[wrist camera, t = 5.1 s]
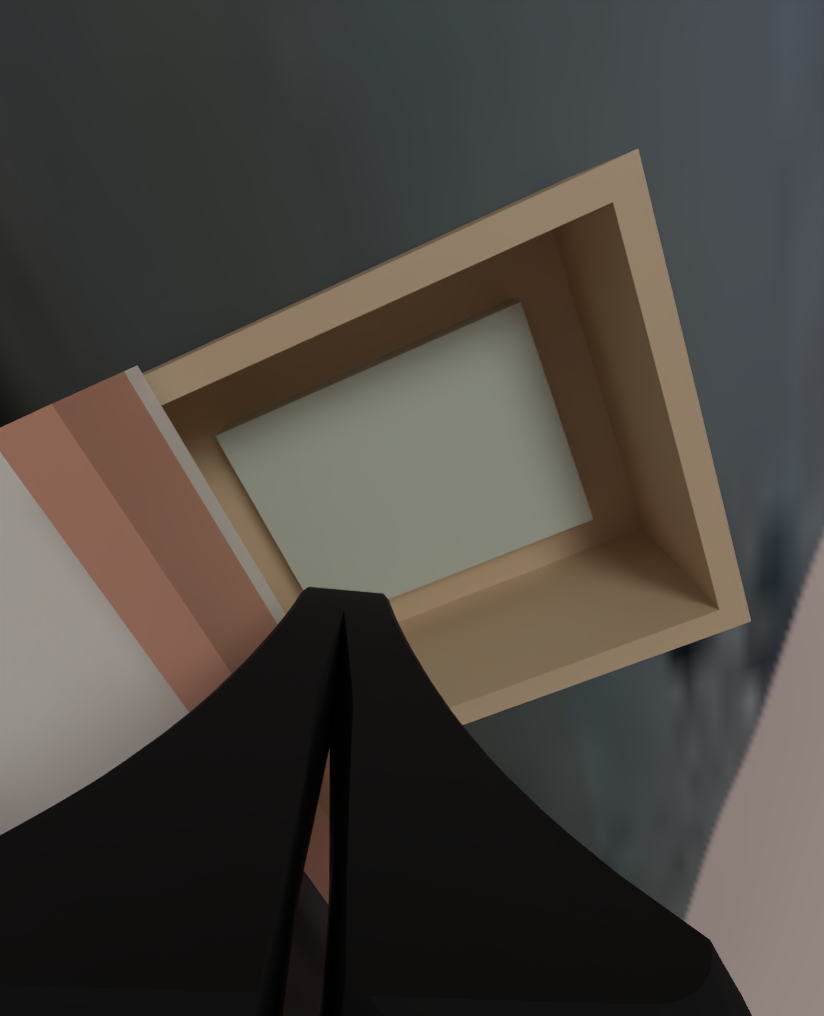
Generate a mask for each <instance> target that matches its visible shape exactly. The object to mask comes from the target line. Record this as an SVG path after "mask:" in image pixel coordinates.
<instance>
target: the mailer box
mask: <svg viewBox="0 0 824 1016" xmlns="http://www.w3.org/2000/svg"><path fill="white" fill-rule="evenodd" d="M142 374H143V376H144V378H145V379H146V381H147V383H148V384H149V386H150V388H151V389H152V391H153V393H154V394H155V396H156V398H157V399H158V401H159V403H160V404H161V406H162V408H163V409H164V411H165V413H166V414H167V416H168V418H169V420H170V421H171V423H172V425H173V426H174V428H175V430H176V431H177V433H178V435H179V436H180V438H181V440H182V441H183V443H184V445H185V446H186V448H187V450H188V451H189V453H190V455H191V456H192V458H193V460H194V461H195V463H196V465H197V466H198V468H199V470H200V472H201V473H202V475H203V477H204V478H205V480H206V482H207V483H208V485H209V487H210V488H211V490H212V492H213V493H214V495H215V497H216V498H217V500H218V502H219V503H220V505H221V507H222V508H223V510H224V512H225V513H226V515H227V517H228V518H229V520H230V522H231V524H232V525H233V527H234V529H235V530H236V532H237V534H238V535H239V537H240V539H241V540H242V542H243V544H244V545H245V547H246V549H247V550H248V552H249V554H250V555H251V557H252V559H253V560H254V562H255V564H256V565H257V567H258V569H259V570H260V572H261V574H262V575H263V577H264V579H265V581H266V582H267V584H268V586H269V587H270V589H271V591H272V592H273V594H274V596H275V597H276V599H277V601H278V602H279V604H280V606H281V607H282V609H283V611H284V612H285V614H286V613H287V612H288V611H289V609H290V608H291V607H292V605H293V604H294V602H295V601H296V600H297V598H298V596H299V595H300V593H301V592H302V591H303V590H305V589H306V588H307V587H318V588H329V589H340V590H351V591H361V592H372V593H383V594H384V595H385V596H386V597H387V598H388V600H389V601H390V604H391V607H392V609H393V612H394V614H395V617H396V619H397V621H398V623H399V625H400V627H401V629H402V631H403V633H404V635H405V637H406V639H407V641H408V643H409V645H410V647H411V648H412V650H413V652H414V654H415V655H416V657H417V659H418V660H419V662H420V664H421V665H422V667H423V669H424V670H425V672H426V674H427V675H428V677H429V678H430V680H431V682H432V683H433V685H434V686H435V688H436V689H437V691H438V692H439V694H440V695H441V696H442V698H443V699H444V701H445V702H446V703H447V705H448V706H449V708H450V709H451V711H452V712H453V713H454V715H455V716H456V717H457V719H458V720H459V721H460V723H461V724H462V725H464V724H467V723H470V722H472V721H475V720H478V719H481V718H483V717H486V716H489V715H492V714H495V713H497V712H500V711H503V710H506V709H509V708H511V707H514V706H517V705H520V704H522V703H525V702H528V701H531V700H534V699H536V698H539V697H542V696H545V695H547V694H550V693H553V692H556V691H559V690H561V689H564V688H567V687H570V686H573V685H575V684H578V683H581V682H584V681H586V680H589V679H592V678H595V677H598V676H600V675H603V674H606V673H609V672H612V671H614V670H617V669H620V668H623V667H625V666H628V665H631V664H634V663H637V662H639V661H642V660H645V659H648V658H651V657H653V656H656V655H659V654H662V653H664V652H667V651H670V650H673V649H676V648H678V647H681V646H684V645H687V644H689V643H692V642H695V641H698V640H701V639H703V638H706V637H709V636H712V635H715V634H717V633H720V632H723V631H726V630H728V629H731V628H734V627H737V626H740V625H742V624H745V623H748V622H751V619H750V615H749V611H748V606H747V602H746V598H745V594H744V590H743V585H742V581H741V577H740V573H739V569H738V564H737V560H736V556H735V552H734V548H733V544H732V539H731V535H730V531H729V527H728V523H727V518H726V514H725V510H724V506H723V502H722V498H721V493H720V489H719V485H718V481H717V477H716V472H715V468H714V464H713V460H712V456H711V452H710V447H709V443H708V439H707V435H706V431H705V426H704V422H703V418H702V414H701V410H700V405H699V401H698V397H697V393H696V389H695V385H694V380H693V376H692V372H691V368H690V364H689V359H688V355H687V351H686V347H685V343H684V339H683V334H682V330H681V326H680V322H679V318H678V313H677V309H676V305H675V301H674V297H673V292H672V288H671V284H670V280H669V276H668V272H667V267H666V263H665V259H664V255H663V251H662V246H661V242H660V238H659V234H658V230H657V226H656V221H655V217H654V213H653V209H652V205H651V200H650V196H649V192H648V188H647V184H646V179H645V175H644V171H643V167H642V163H641V159H640V154H639V150H638V149H636V150H634V151H631V152H629V153H627V154H624V155H622V156H619V157H617V158H615V159H612V160H610V161H607V162H605V163H603V164H600V165H598V166H595V167H593V168H590V169H588V170H586V171H583V172H581V173H578V174H576V175H574V176H571V177H569V178H566V179H564V180H562V181H559V182H557V183H555V184H553V185H550V186H548V187H546V188H544V189H542V190H539V191H537V192H535V193H533V194H531V195H529V196H526V197H524V198H522V199H520V200H518V201H516V202H513V203H511V204H509V205H507V206H505V207H502V208H500V209H498V210H496V211H494V212H492V213H489V214H487V215H485V216H483V217H481V218H479V219H476V220H474V221H472V222H470V223H468V224H465V225H463V226H461V227H459V228H457V229H455V230H452V231H450V232H448V233H446V234H444V235H442V236H439V237H437V238H435V239H433V240H431V241H429V242H426V243H424V244H422V245H420V246H418V247H415V248H413V249H411V250H409V251H407V252H405V253H402V254H400V255H398V256H396V257H394V258H392V259H389V260H387V261H385V262H383V263H381V264H378V265H376V266H374V267H372V268H370V269H368V270H365V271H363V272H361V273H359V274H357V275H355V276H352V277H350V278H348V279H346V280H344V281H341V282H339V283H337V284H335V285H333V286H331V287H328V288H326V289H324V290H322V291H320V292H318V293H315V294H313V295H311V296H309V297H307V298H304V299H302V300H300V301H298V302H296V303H294V304H291V305H289V306H287V307H285V308H283V309H281V310H278V311H276V312H274V313H272V314H270V315H267V316H265V317H263V318H261V319H259V320H257V321H254V322H252V323H250V324H248V325H246V326H244V327H241V328H239V329H237V330H235V331H233V332H230V333H228V334H226V335H224V336H222V337H220V338H217V339H215V340H213V341H211V342H209V343H207V344H204V345H202V346H200V347H198V348H196V349H193V350H191V351H189V352H187V353H185V354H183V355H180V356H178V357H176V358H174V359H172V360H170V361H167V362H165V363H163V364H161V365H159V366H157V367H154V368H152V369H150V370H148V371H146V372H143V373H142Z"/></svg>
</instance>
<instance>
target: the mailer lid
mask: <svg viewBox="0 0 824 1016" xmlns="http://www.w3.org/2000/svg"><path fill="white" fill-rule="evenodd" d="M285 615H286V614H285V612H284V611H283V609H282V607H281V606H280V604H279V602H278V601H277V599H276V597H275V596H274V594H273V592H272V591H271V589H270V587H269V586H268V584H267V582H266V581H265V579H264V577H263V575H262V574H261V572H260V570H259V569H258V567H257V565H256V564H255V562H254V560H253V559H252V557H251V555H250V554H249V552H248V550H247V549H246V547H245V545H244V544H243V542H242V540H241V539H240V537H239V535H238V534H237V532H236V530H235V529H234V527H233V525H232V524H231V522H230V520H229V518H228V517H227V515H226V513H225V512H224V510H223V508H222V507H221V505H220V503H219V502H218V500H217V498H216V497H215V495H214V493H213V492H212V490H211V488H210V487H209V485H208V483H207V482H206V480H205V478H204V477H203V475H202V473H201V472H200V470H199V468H198V466H197V465H196V463H195V461H194V460H193V458H192V456H191V455H190V453H189V451H188V450H187V448H186V446H185V445H184V443H183V441H182V440H181V438H180V436H179V435H178V433H177V431H176V430H175V428H174V426H173V425H172V423H171V421H170V420H169V418H168V416H167V414H166V413H165V411H164V409H163V408H162V406H161V404H160V403H159V401H158V399H157V398H156V396H155V394H154V393H153V391H152V389H151V388H150V386H149V384H148V383H147V381H146V379H145V378H144V376H143V374H142V373H141V371H140V369H139V368H138V366H135V367H133V368H130V369H128V370H126V371H124V372H122V373H119V374H117V375H115V376H113V377H111V378H108V379H106V380H104V381H102V382H99V383H97V384H95V385H93V386H91V387H88V388H86V389H84V390H82V391H79V392H77V393H75V394H73V395H71V396H68V397H66V398H64V399H62V400H60V401H57V402H55V403H53V404H51V405H48V406H46V407H44V408H42V409H40V410H38V411H35V412H33V413H31V414H29V415H27V416H25V417H23V418H20V419H18V420H16V421H14V422H12V423H10V424H7V425H5V426H3V427H1V428H0V835H1V834H3V833H5V832H7V831H9V830H11V829H12V828H14V827H16V826H18V825H20V824H21V823H23V822H25V821H27V820H29V819H30V818H32V817H34V816H36V815H38V814H39V813H41V812H43V811H45V810H46V809H48V808H50V807H52V806H54V805H55V804H57V803H59V802H60V801H62V800H64V799H65V798H67V797H69V796H70V795H72V794H74V793H75V792H77V791H79V790H80V789H82V788H84V787H86V786H87V785H89V784H90V783H92V782H94V781H95V780H97V779H98V778H100V777H102V776H103V775H105V774H106V773H108V772H109V771H111V770H112V769H113V768H115V767H116V766H118V765H119V764H121V763H122V762H124V761H125V760H127V759H128V758H129V757H131V756H132V755H134V754H135V753H136V752H138V751H139V750H141V749H142V748H143V747H145V746H146V745H148V744H149V743H150V742H152V741H153V740H154V739H156V738H157V737H159V736H160V735H161V734H163V733H164V732H165V731H167V730H168V729H169V728H170V727H172V726H173V725H174V724H175V723H177V722H178V721H179V720H180V719H182V718H183V717H184V716H185V715H187V714H188V713H189V712H190V711H192V710H193V709H194V708H195V707H196V706H197V705H199V704H200V703H201V702H202V701H203V700H204V699H205V698H207V697H208V696H209V695H210V694H211V693H212V692H213V691H214V690H216V689H217V688H218V687H219V686H220V685H221V684H222V683H223V682H224V681H225V680H226V679H227V678H228V677H229V676H230V675H231V674H232V673H233V672H234V671H235V670H236V669H237V668H238V667H239V666H240V665H241V664H242V663H243V662H244V661H245V660H246V659H247V658H248V657H249V656H250V655H251V654H252V653H253V652H254V651H255V650H256V649H257V648H258V646H259V645H260V644H261V643H262V642H263V641H264V640H265V639H266V637H267V636H268V635H269V634H270V633H271V632H272V631H273V630H274V628H275V627H276V626H277V625H278V623H279V622H280V621H281V620H282V618H283V617H284V616H285ZM329 759H330V748H329V753H328V758H327V763H326V768H325V772H324V777H323V782H322V787H321V792H320V796H319V801H318V806H317V810H316V815H315V820H314V825H313V829H312V834H311V839H310V844H309V848H308V853H307V858H306V863H305V867H304V871H305V873H306V874H307V876H308V877H309V878H310V880H311V881H312V882H313V884H314V885H315V887H316V888H317V889H318V891H319V892H320V894H321V895H322V896H323V898H324V899H325V900H326V902H327V903H329Z"/></svg>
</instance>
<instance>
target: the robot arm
mask: <svg viewBox="0 0 824 1016" xmlns="http://www.w3.org/2000/svg"><path fill="white" fill-rule="evenodd" d="M329 748H330V759H329V903H328V924H327V935H326V947H325V959H324V970H323V982H322V993H321V1005H320V1016H752V1015H751V1013H750V1011H749V1009H748V1007H747V1005H746V1003H745V1001H744V999H743V997H742V995H741V993H740V992H739V990H738V988H737V987H736V985H735V983H734V981H733V980H732V978H731V976H730V975H729V973H728V971H727V969H726V968H725V966H724V964H723V963H722V961H721V959H720V958H719V955H718V953H717V952H716V950H715V948H714V946H713V944H712V942H711V941H710V940H709V939H708V938H707V937H705V936H704V935H702V934H701V933H700V932H698V931H697V930H695V929H694V928H692V927H691V926H690V925H688V924H687V923H686V922H684V921H683V920H682V919H680V918H679V917H677V916H676V915H675V914H673V913H672V912H670V911H669V910H668V909H666V908H665V907H663V906H662V905H661V904H659V903H658V902H656V901H655V900H654V899H652V898H651V897H649V896H648V895H647V894H645V893H644V892H642V891H641V890H640V889H638V888H637V887H635V886H634V885H633V884H631V883H630V882H628V881H627V880H626V879H624V878H623V877H622V876H620V875H619V874H618V873H616V872H615V871H614V870H612V869H611V868H610V867H609V866H607V865H606V864H605V863H604V862H603V861H601V860H600V859H599V858H598V857H596V856H595V855H594V854H593V853H592V852H590V851H589V850H588V849H587V848H585V847H584V846H583V845H582V844H581V843H579V842H578V841H577V840H576V839H574V838H573V837H572V836H571V835H570V834H568V833H567V832H566V831H565V830H564V829H563V828H562V827H560V826H559V825H558V824H557V823H556V822H555V821H554V820H553V819H551V818H550V817H549V816H548V815H547V814H546V813H545V812H544V811H543V810H542V809H540V808H539V807H538V806H537V805H536V804H535V803H534V802H533V801H532V800H531V799H530V798H529V797H528V796H527V795H526V794H525V793H524V792H523V791H522V790H521V789H520V788H519V787H518V786H517V785H516V784H514V783H513V782H512V781H511V780H510V779H509V778H508V777H507V776H506V775H505V774H504V773H503V772H502V771H501V770H500V768H499V767H498V766H497V765H496V764H495V763H494V762H493V761H492V760H491V759H490V758H489V756H488V755H487V754H486V753H485V752H484V751H483V749H482V748H481V747H480V746H479V745H478V744H477V742H476V741H475V740H474V739H473V738H472V736H471V735H470V734H469V733H468V731H467V730H466V729H465V728H464V726H463V725H462V724H461V723H460V721H459V720H458V719H457V717H456V716H455V715H454V713H453V712H452V711H451V709H450V708H449V706H448V705H447V703H446V702H445V701H444V699H443V698H442V696H441V695H440V694H439V692H438V691H437V689H436V688H435V686H434V685H433V683H432V682H431V680H430V678H429V677H428V675H427V674H426V672H425V670H424V669H423V667H422V665H421V664H420V662H419V660H418V659H417V657H416V655H415V654H414V652H413V650H412V648H411V647H410V645H409V643H408V641H407V639H406V637H405V635H404V633H403V631H402V629H401V627H400V625H399V623H398V621H397V619H396V617H395V614H394V612H393V609H392V607H391V604H390V601H389V600H388V598H387V597H386V596H385V595H384V594H383V593H372V592H361V591H351V590H340V589H329V588H318V587H307V588H306V589H305V590H303V591H302V592H301V593H300V595H299V596H298V598H297V600H296V601H295V602H294V604H293V605H292V607H291V608H290V609H289V611H288V612H287V613H286V615H285V616H284V617H283V618H282V620H281V621H280V622H279V623H278V625H277V626H276V627H275V628H274V630H273V631H272V632H271V633H270V634H269V635H268V636H267V637H266V639H265V640H264V641H263V642H262V643H261V644H260V645H259V646H258V648H257V649H256V650H255V651H254V652H253V653H252V654H251V655H250V656H249V657H248V658H247V659H246V660H245V661H244V662H243V663H242V664H241V665H240V666H239V667H238V668H237V669H236V670H235V671H234V672H233V673H232V674H231V675H230V676H229V677H228V678H227V679H226V680H225V681H224V682H223V683H222V684H221V685H220V686H219V687H218V688H217V689H216V690H214V691H213V692H212V693H211V694H210V695H209V696H208V697H207V698H205V699H204V700H203V701H202V702H201V703H200V704H199V705H197V706H196V707H195V708H194V709H193V710H192V711H190V712H189V713H188V714H187V715H185V716H184V717H183V718H182V719H180V720H179V721H178V722H177V723H175V724H174V725H173V726H172V727H170V728H169V729H168V730H167V731H165V732H164V733H163V734H161V735H160V736H159V737H157V738H156V739H154V740H153V741H152V742H150V743H149V744H148V745H146V746H145V747H143V748H142V749H141V750H139V751H138V752H136V753H135V754H134V755H132V756H131V757H129V758H128V759H127V760H125V761H124V762H122V763H121V764H119V765H118V766H116V767H115V768H113V769H112V770H111V771H109V772H108V773H106V774H105V775H103V776H102V777H100V778H98V779H97V780H95V781H94V782H92V783H90V784H89V785H87V786H86V787H84V788H82V789H80V790H79V791H77V792H75V793H74V794H72V795H70V796H69V797H67V798H65V799H64V800H62V801H60V802H59V803H57V804H55V805H54V806H52V807H50V808H48V809H46V810H45V811H43V812H41V813H39V814H38V815H36V816H34V817H32V818H30V819H29V820H27V821H25V822H23V823H21V824H20V825H18V826H16V827H14V828H12V829H11V830H9V831H7V832H5V833H3V834H1V835H0V1016H283V1010H284V1002H285V994H286V986H287V978H288V970H289V962H290V954H291V946H292V938H293V931H294V923H295V916H296V910H297V904H298V898H299V892H300V887H301V882H302V877H303V872H304V867H305V863H306V858H307V853H308V848H309V844H310V839H311V834H312V829H313V825H314V820H315V815H316V810H317V806H318V801H319V796H320V792H321V787H322V782H323V777H324V772H325V768H326V763H327V758H328V753H329Z"/></svg>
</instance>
